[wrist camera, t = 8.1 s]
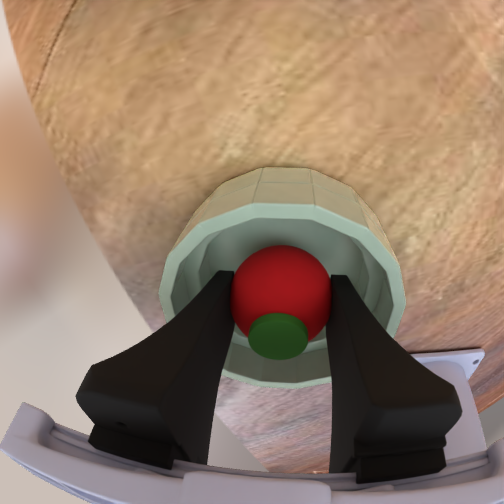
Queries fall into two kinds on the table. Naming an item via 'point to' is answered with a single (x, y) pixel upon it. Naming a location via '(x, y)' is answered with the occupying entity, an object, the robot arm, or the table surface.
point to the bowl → (293, 234)
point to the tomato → (280, 300)
